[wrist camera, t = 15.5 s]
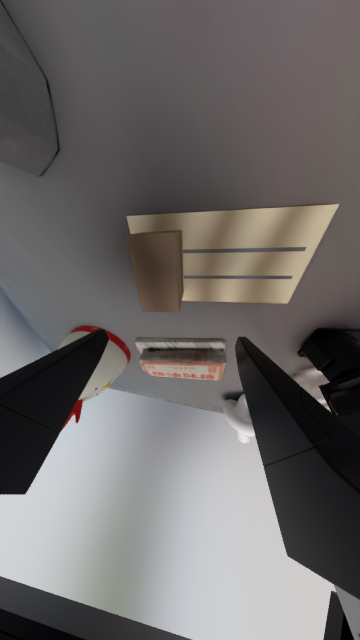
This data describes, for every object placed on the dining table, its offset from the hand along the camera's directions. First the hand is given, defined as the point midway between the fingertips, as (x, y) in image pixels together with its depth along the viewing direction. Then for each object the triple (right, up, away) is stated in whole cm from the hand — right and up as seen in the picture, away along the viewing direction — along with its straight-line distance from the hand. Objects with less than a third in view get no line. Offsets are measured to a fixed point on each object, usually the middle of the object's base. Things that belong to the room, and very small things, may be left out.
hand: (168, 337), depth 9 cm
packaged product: (+1, -6, +20) cm, 21 cm away
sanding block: (-1, +8, +8) cm, 11 cm away
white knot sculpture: (+20, -21, +28) cm, 40 cm away
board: (+5, +9, +8) cm, 13 cm away
